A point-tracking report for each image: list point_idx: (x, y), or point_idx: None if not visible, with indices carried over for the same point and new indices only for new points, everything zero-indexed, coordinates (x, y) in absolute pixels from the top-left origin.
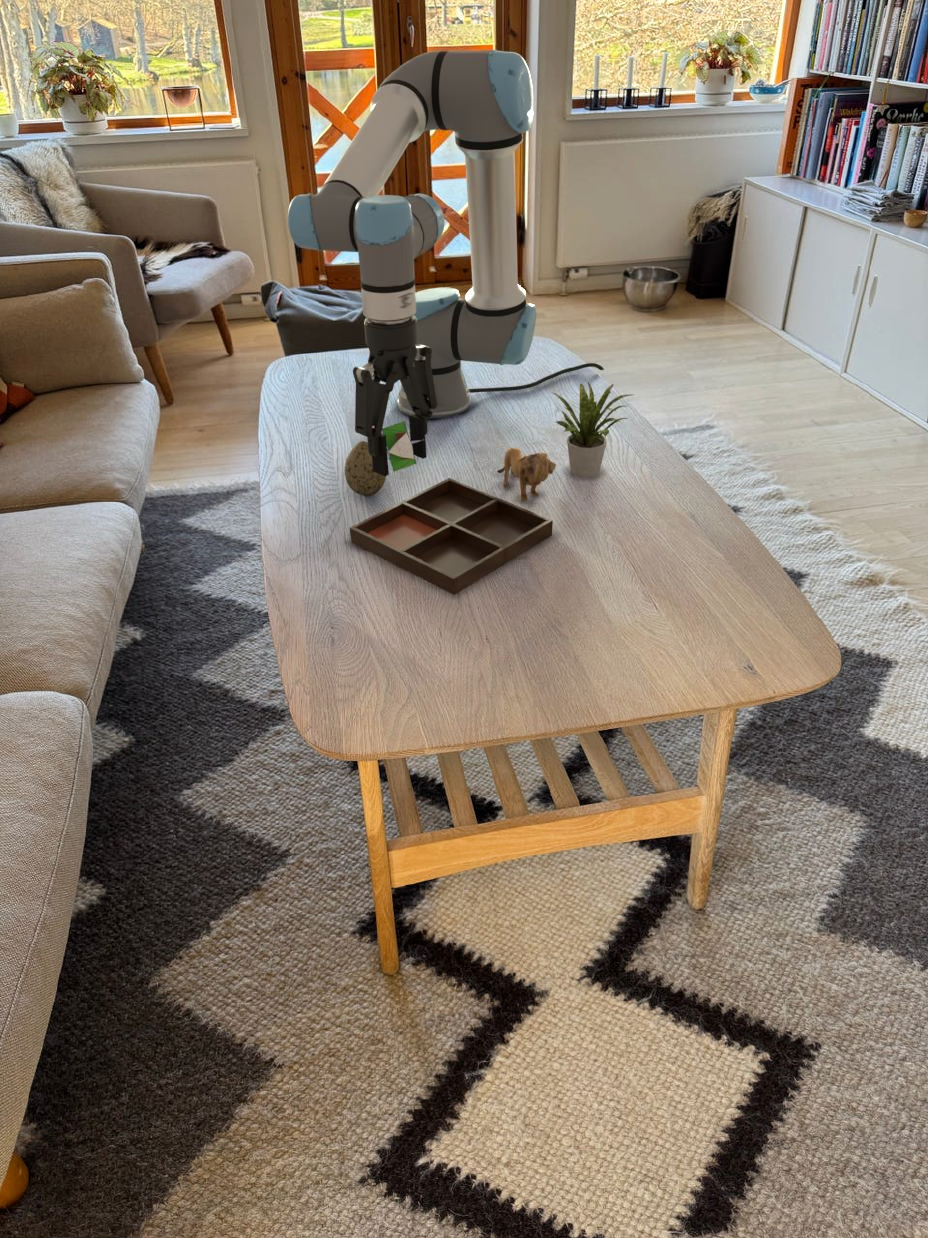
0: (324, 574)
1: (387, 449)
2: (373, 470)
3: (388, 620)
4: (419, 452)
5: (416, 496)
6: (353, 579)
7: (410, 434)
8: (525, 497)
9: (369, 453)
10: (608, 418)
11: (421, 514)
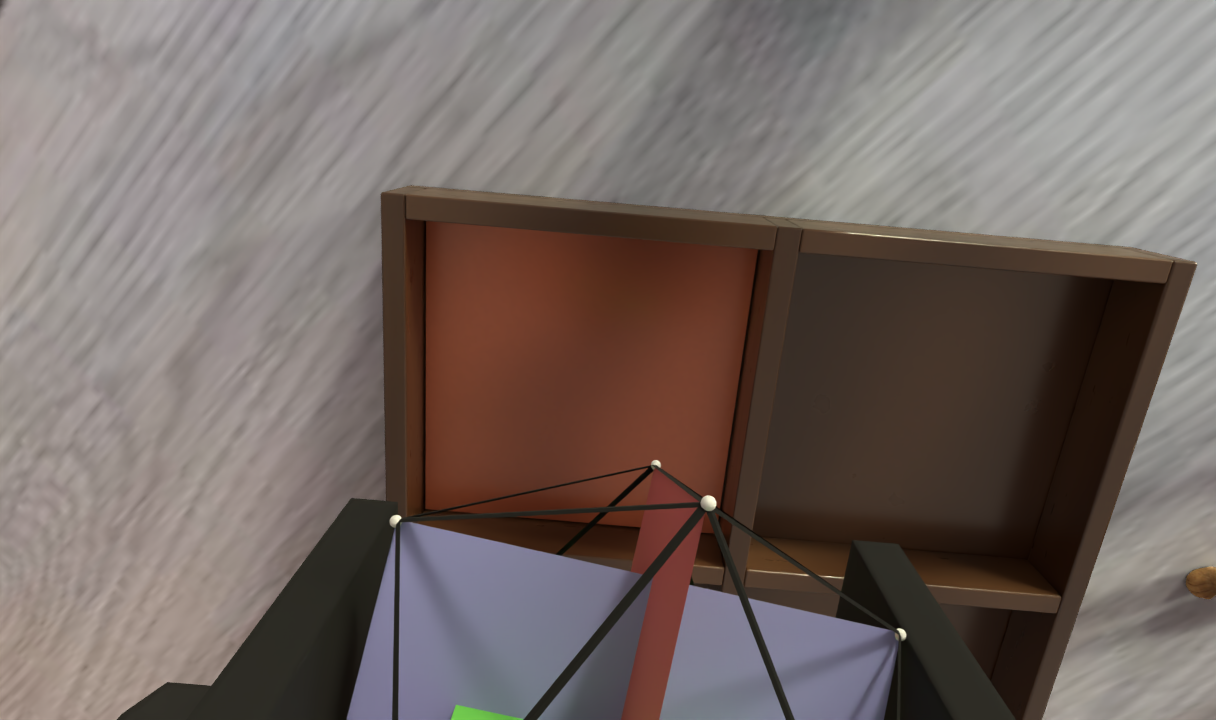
0: (144, 286)
1: (526, 621)
2: (347, 507)
3: (147, 676)
4: None
5: (889, 258)
6: (215, 414)
7: (937, 705)
8: (1211, 593)
9: (152, 695)
10: None
11: (748, 390)
